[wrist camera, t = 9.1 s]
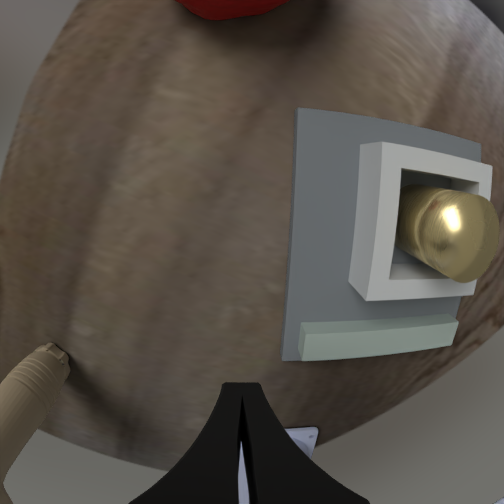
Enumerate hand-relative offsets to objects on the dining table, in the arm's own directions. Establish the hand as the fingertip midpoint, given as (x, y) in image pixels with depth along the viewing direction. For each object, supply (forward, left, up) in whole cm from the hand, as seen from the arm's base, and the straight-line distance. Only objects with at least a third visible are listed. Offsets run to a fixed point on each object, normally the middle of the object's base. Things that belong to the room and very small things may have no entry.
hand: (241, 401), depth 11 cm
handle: (-6, +15, -10) cm, 19 cm away
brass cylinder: (+6, -11, -8) cm, 15 cm away
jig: (+4, -10, -9) cm, 14 cm away
